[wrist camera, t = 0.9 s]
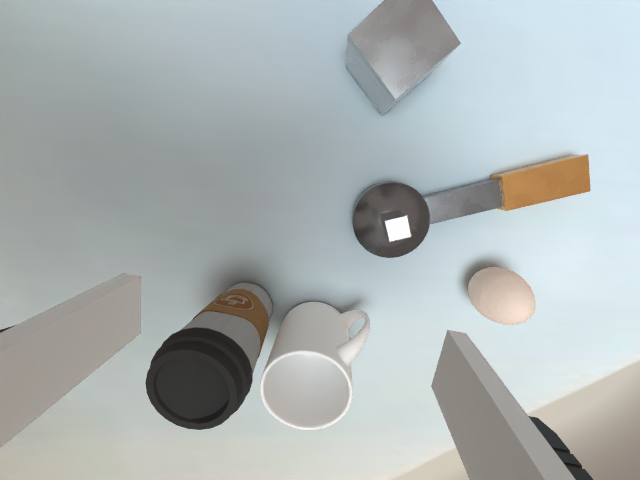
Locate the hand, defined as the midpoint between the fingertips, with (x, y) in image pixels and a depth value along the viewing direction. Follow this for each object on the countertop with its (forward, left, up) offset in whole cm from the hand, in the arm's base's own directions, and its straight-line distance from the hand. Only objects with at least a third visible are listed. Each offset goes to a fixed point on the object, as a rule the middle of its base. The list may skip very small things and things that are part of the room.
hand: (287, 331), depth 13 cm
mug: (+10, -7, -23) cm, 26 cm away
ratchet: (+7, +14, -23) cm, 27 cm away
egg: (+17, +11, -23) cm, 30 cm away
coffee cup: (+2, -13, -23) cm, 27 cm away
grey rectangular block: (-8, +16, -23) cm, 29 cm away
